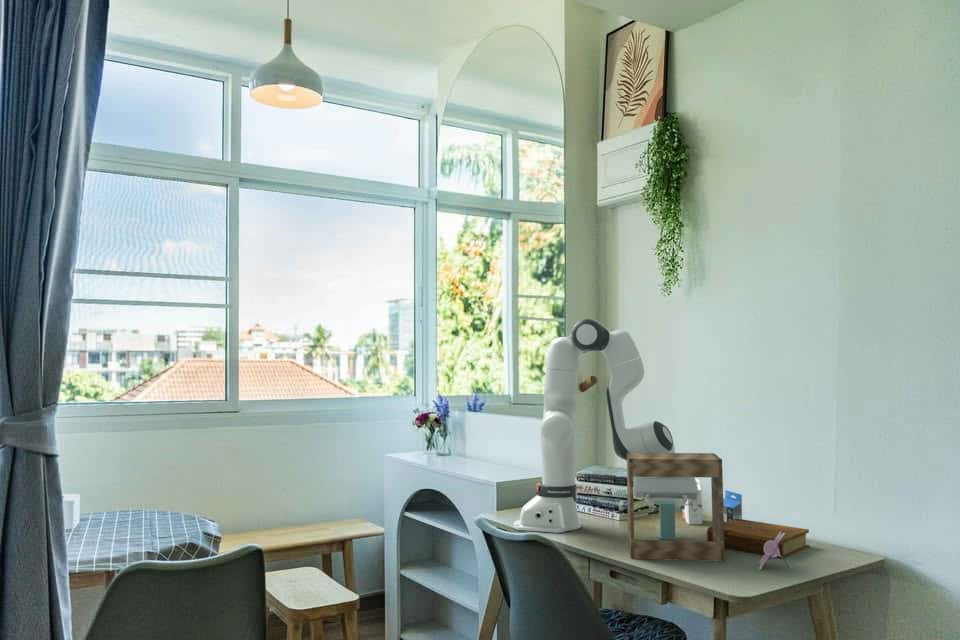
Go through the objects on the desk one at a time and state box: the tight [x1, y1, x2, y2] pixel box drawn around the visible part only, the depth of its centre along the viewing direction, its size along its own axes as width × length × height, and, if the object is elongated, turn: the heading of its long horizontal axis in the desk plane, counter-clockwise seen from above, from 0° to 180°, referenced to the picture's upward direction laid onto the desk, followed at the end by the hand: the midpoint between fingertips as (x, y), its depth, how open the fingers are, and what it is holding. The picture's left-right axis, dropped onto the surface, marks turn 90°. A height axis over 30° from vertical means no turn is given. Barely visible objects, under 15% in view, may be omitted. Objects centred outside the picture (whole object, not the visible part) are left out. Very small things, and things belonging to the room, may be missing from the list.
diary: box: [706, 518, 810, 559], centre depth 228 cm, size 23×19×6 cm
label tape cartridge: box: [723, 490, 743, 522], centre depth 249 cm, size 9×4×12 cm, turn 18°
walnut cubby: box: [626, 452, 726, 562], centre depth 221 cm, size 26×14×28 cm, turn 82°
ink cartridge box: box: [681, 477, 703, 525], centre depth 262 cm, size 9×5×15 cm, turn 179°
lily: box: [758, 532, 791, 571], centre depth 205 cm, size 12×12×10 cm
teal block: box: [658, 501, 676, 540], centre depth 239 cm, size 4×4×11 cm
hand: (666, 508), depth 240 cm, fingers open, 8 cm apart
